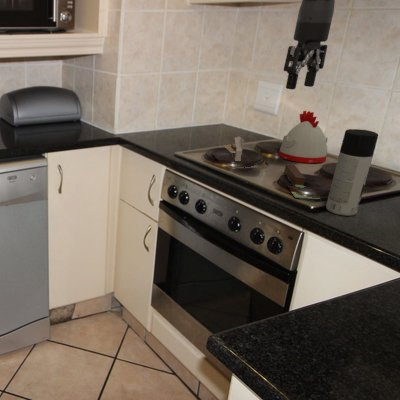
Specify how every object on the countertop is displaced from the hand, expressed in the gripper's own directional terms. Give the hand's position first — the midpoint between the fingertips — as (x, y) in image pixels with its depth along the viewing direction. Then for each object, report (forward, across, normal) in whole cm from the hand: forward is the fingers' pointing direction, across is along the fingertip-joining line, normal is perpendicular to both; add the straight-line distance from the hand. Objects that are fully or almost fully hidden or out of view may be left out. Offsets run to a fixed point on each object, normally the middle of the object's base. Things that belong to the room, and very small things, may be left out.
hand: (299, 87), depth 123 cm
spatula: (+27, +4, -3) cm, 28 cm away
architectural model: (+27, +10, +21) cm, 36 cm away
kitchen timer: (+27, +32, +11) cm, 43 cm away
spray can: (+27, -4, -18) cm, 33 cm away
